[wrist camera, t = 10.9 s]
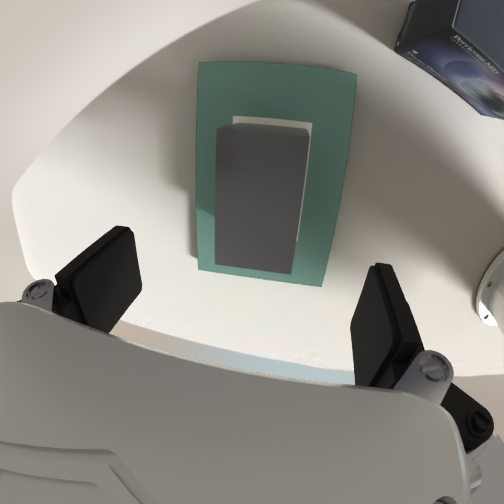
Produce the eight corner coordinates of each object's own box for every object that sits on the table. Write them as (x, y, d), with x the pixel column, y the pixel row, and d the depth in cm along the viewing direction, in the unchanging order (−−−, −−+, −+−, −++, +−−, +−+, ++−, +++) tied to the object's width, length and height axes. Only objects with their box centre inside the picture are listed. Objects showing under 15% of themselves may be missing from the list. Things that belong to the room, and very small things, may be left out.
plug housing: (306, 128, 19) (309, 136, 14) (293, 235, 24) (291, 274, 19) (238, 122, 20) (216, 128, 15) (233, 227, 24) (214, 264, 19)
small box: (389, 54, 16) (448, 26, 7) (409, 1, 13) (464, -41, 4) (481, 119, 17) (557, 141, 8) (497, 68, 13) (570, 71, 4)
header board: (353, 76, 18) (356, 74, 16) (320, 278, 27) (321, 287, 26) (205, 64, 19) (198, 62, 18) (202, 261, 29) (197, 270, 27)
